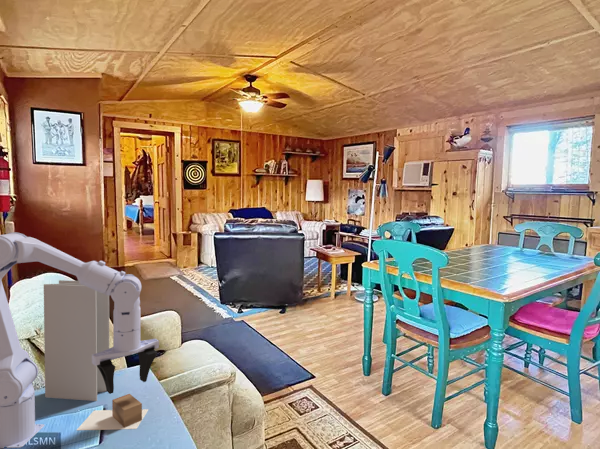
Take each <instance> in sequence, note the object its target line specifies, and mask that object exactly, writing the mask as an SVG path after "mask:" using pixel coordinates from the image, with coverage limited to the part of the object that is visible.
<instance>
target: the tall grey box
mask: <svg viewBox="0 0 600 449" xmlns="http://www.w3.org/2000/svg"><path fill="white" fill-rule="evenodd" d="M43 330H44V331H43V332H44V335H43V337H44V339H43V342H44V343H43V345H44V385H45V386H44V392H45V393H44V394H45V395H44V396H45V398H50V399H61V400H62V399H65V400H78V401H79V400H80V401H93V402H97V401H98V393H102V392H107V390H106V385H105V382H104V379H103V376H102V374H101V372H100V370H99V369H98V367H97V365H96V366H95V365H93V364H92V355H93V354H96V353H99V352H102V351H104V350H107V349H109V348H110V295H105V294H103V293H100V292H98V291H96V290H93V289H91V288H88V287H86V286H84V285H81V284H80V283H79V281H78V280H65V279H64V280H61V279H59V280H58V283H44V284H43Z"/></svg>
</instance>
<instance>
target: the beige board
mask: <svg viewBox="0 0 600 449" xmlns="http://www.w3.org/2000/svg"><path fill="white" fill-rule="evenodd" d="M148 411H149V408H148V409H145V408H144V409H142V420H141V421H139V422H137V423H134V424H132V425H130V426H127V427H125V428H124V427H123V426H122V425H121V424H120V423H119V422H118V421H117V420H116V419H115V418H114V417H113V416H112V409H104V410H103V409H102V410H101V409H99V410H96V409H95V410H93V411H92V412H91V413H90V414H89V416H87V417H86V418H85V420H84V421H83V422H82V423H81V425H79V426H78V427H77V429H76V431H102V430H105V431H106V430H107V431H109V430H137V429H138V427H139V426H140V424H141V423H142V422H143V420H144V418H145V416H146V415H147V413H148Z"/></svg>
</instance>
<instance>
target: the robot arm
mask: <svg viewBox="0 0 600 449" xmlns="http://www.w3.org/2000/svg"><path fill="white" fill-rule="evenodd" d="M33 262H39V263H41V264H44V265H47V266H49V267H52V268H55V269H57V270H59V271H62V272H65V273H66V274H67V273H68V274H70V275H73V276H75V277H76V278H77V281H79V283H80V284H81V285H84V286H86V287H88V288H91V289H93V290H96V291H98V292H100V293H103V294H105V295H109V296H110V297H111V299H112V301H113V302H114V303H113V304H114V306H113V308H114V309H113V311H112V313H113V316H112V317H113V324H112V325H113V327H112V328H113V333H112V334H113V335H112V336H113V337H112V338H113V340H112V341H113V343H112V344H113V346H112V347H109V349H107V350H104V351H102V352H99V353H96V354H93V355H92V364H93V365H95V366H96V365H97V367H98V369H99V370H100V372H101V374H102V376H103V379H104V382H105V385H106V390H107V391H106V392H108V394H110V395H111V394H114V389H115V388H114V387H115V385H114V379H115V376H114V375H115V370H116V366H115V365H114V364H113V360H117V359H121V358H124V357H127V356H128V357H129V356H131V355H135V354H137V355H138V361H139V362H138V363H139V380H140V381H142V382H143V383H146V382H147V380H148V376H149V373H150V369H151V366H152V364H153V363H154V360H155V358H156V357H157V353H158V352H157V350H156V349H159V348H160V345H159V344H160V343H159V342H160V340H158V339H157V338H151V339H144V340H141V336H142V335H141V334H142V333H141V328H142V327H141V322H142V321H141V320H142V318H141V314H142V313H141V310H142V309H141V306H140V305H141V300H140V298H141V297H140V295H141V291H142V288H143V287H142V282H141V280H140V279H139V277H137V276H135V275H134V274H132V273H130V274H129V273H128V274H127V273H126V271H123V270H121V271H118V270H117V269H114V268H111V267H110V266H108V265H106V262H105V261H104V260H99V261H97V260H91V261H87V262H85V261H82V260H80V259H79V258H75V257H74V256H72V255H70V254H68V253H66V252H63V251H62V250H60V249H57V248H56V247H53V246H52V245H50V244H48V243H46V242H43V241H41V240H39V239H37V238H34V237H31V236H27V235H25V234H24V233H20V232H16V231H15V232H9V233H6V234H5V233H4V234H0V449H5V448H4V447H5V446H6V447H7V448H6V449H11V448H12V449H13V448H14V449H16V448H17V449H19V448H22V447H24V446H25V445H26V444H27V443H28V442H29V441H30V440H31V439H32V438H33V437H34V436H36V434H37V433H38V432H40V430H42V429H43V428H44V427H45V424H44V423H43V424H42V423H41V424H39V423H37V424H36V407H35V406H36V402H35V400H36V398H35V394H36V391H35V389H34V386H33V382H35V380H36V379H37V377H38V374H39V368H38V366H37V364H36V362H34V361H33V360H32V359H31V357H30V355H29V352H28V351H27V350H25V349H23V348H22V346H21V343H20V340H19V336H18V333H17V328H16V325H15V322H14V318H13V316H12V312H11V309H10V305H9V302H8V298H7V294H6V291H5V288H4V285H3V281H2V280H3V278H4V277H5V275H6V274H8V272H9V271H10V270H11V269H12V267H13V266H15V265H16V264H21V263H22V264H24V263H33Z"/></svg>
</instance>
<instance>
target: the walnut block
mask: <svg viewBox="0 0 600 449" xmlns="http://www.w3.org/2000/svg"><path fill="white" fill-rule="evenodd" d="M111 402H112V404H111V405H112V409H111V410H112V416H113V417H114V418H115V419H116V420H117V421H118V422H119V423H120V424H121V425H122V426H123V427H124V428H125V427H127V426H130V425H132V424H134V423H137V422H139V421H141V420H142V421H143V419H142V408H143V403H142V402H141V401H139V400H138V399H137V398H136V397H134V396H133V395H132V394H131V393H128V394H124V395H122V396H119V397H115V398H114V399H112V401H111ZM142 421H141V422H142Z"/></svg>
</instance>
